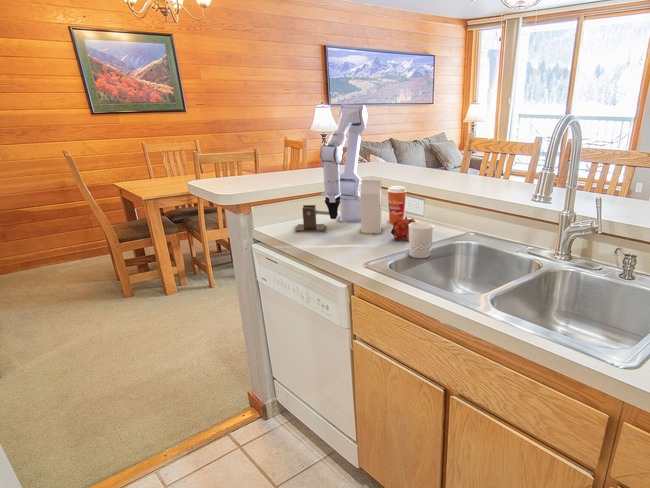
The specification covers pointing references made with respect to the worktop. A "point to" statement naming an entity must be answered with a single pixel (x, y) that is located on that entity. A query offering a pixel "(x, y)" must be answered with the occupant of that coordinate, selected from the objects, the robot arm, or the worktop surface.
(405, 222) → the dragon fruit
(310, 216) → the faucet bracket
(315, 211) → the faucet lever
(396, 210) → the paper cup
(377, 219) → the milk carton
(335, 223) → the worktop surface
